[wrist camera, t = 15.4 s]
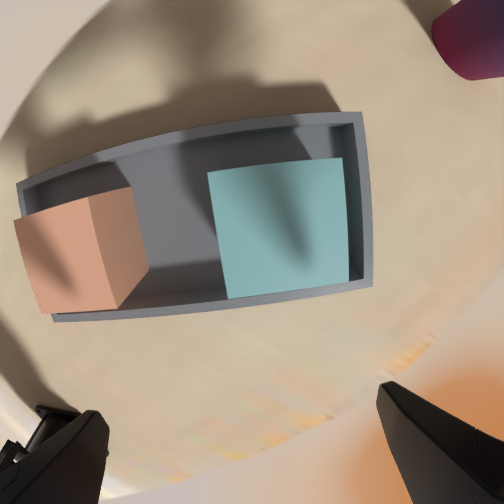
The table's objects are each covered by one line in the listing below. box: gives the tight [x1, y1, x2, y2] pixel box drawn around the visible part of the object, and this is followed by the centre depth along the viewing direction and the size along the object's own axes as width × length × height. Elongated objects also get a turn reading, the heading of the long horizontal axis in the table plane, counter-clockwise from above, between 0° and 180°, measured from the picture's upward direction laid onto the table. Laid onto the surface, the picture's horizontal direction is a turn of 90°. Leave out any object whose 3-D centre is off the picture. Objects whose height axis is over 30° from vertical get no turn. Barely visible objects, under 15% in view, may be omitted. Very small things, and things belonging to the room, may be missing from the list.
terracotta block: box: [14, 186, 149, 314], centre depth 12 cm, size 4×4×4 cm
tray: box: [16, 112, 373, 322], centre depth 13 cm, size 18×8×2 cm, turn 98°
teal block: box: [207, 158, 349, 299], centre depth 12 cm, size 4×4×4 cm
